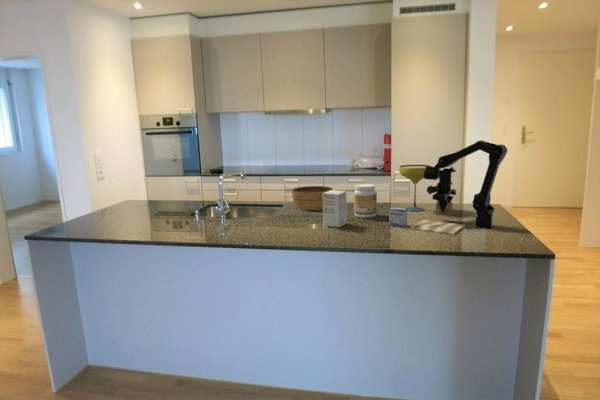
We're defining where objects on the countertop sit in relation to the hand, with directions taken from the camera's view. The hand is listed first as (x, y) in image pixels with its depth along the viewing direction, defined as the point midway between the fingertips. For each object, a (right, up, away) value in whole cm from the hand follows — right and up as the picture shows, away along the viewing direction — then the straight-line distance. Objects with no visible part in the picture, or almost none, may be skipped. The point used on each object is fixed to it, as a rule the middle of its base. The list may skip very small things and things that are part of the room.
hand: (444, 211), depth 214 cm
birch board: (-7, -8, -12) cm, 16 cm away
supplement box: (-55, -7, 0) cm, 56 cm away
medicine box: (-25, -7, -5) cm, 26 cm away
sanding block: (0, -2, 0) cm, 2 cm away
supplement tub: (-37, -3, +18) cm, 41 cm away
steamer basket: (-65, +1, +47) cm, 80 cm away
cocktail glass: (-7, 0, +29) cm, 30 cm away
